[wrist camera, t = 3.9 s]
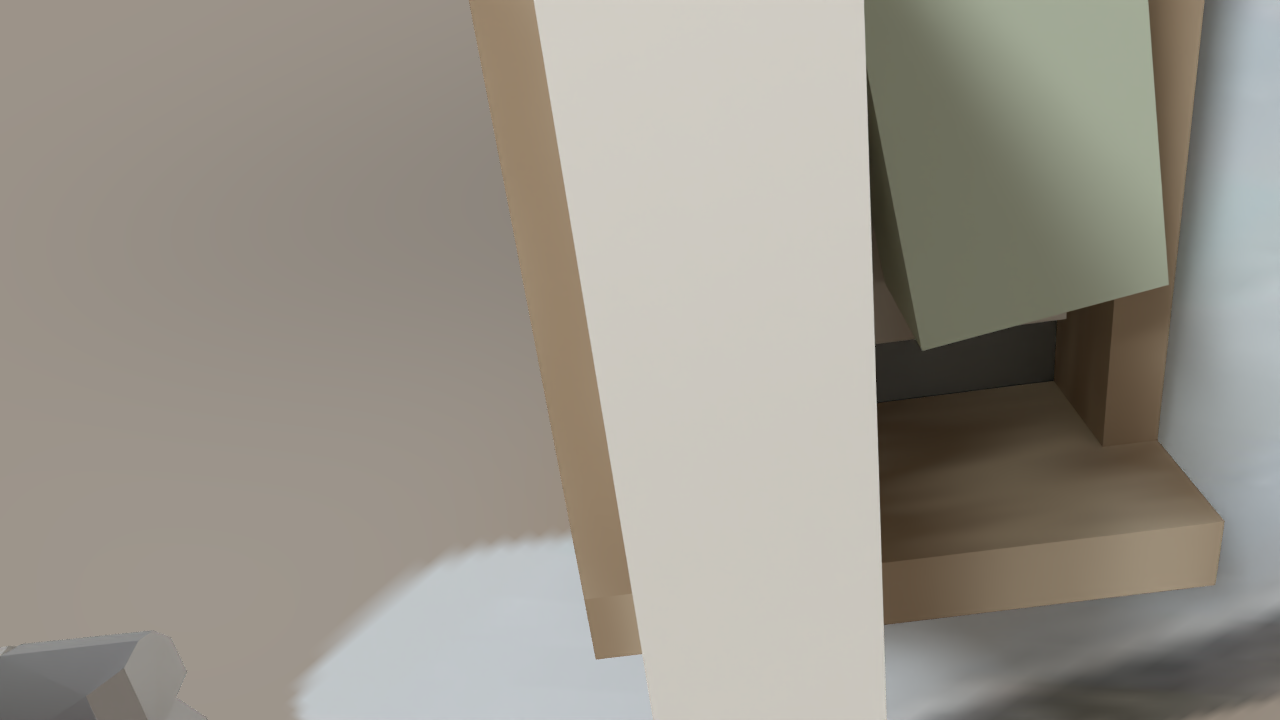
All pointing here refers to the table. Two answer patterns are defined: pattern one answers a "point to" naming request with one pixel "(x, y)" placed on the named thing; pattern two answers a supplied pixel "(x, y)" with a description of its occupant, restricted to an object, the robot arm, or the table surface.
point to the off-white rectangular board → (732, 339)
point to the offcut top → (1011, 159)
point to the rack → (908, 403)
